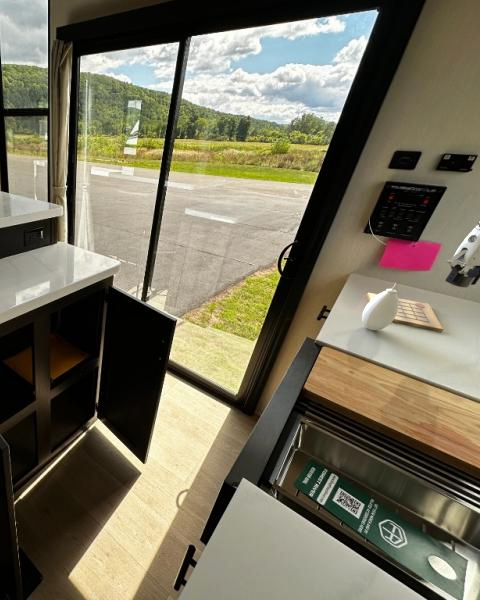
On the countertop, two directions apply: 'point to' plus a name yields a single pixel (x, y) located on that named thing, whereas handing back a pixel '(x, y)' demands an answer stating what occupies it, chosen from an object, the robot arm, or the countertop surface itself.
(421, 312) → the board
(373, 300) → the white air blower bulb
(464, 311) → the countertop surface
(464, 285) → the stone
